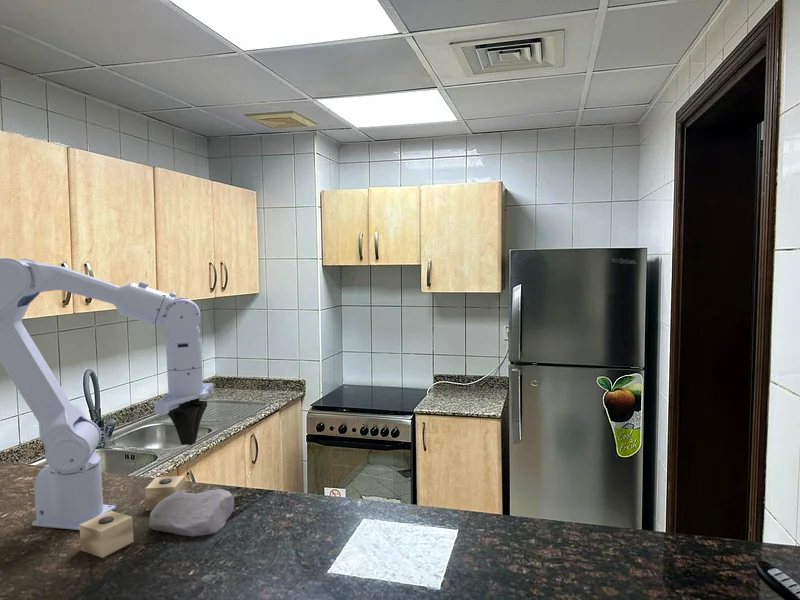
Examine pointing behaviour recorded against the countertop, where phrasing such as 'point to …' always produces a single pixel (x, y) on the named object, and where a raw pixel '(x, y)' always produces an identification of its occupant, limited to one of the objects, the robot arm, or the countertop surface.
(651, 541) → the countertop surface
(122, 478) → the countertop surface
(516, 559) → the countertop surface
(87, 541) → the beech block
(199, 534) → the stone block
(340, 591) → the countertop surface
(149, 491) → the beech block
